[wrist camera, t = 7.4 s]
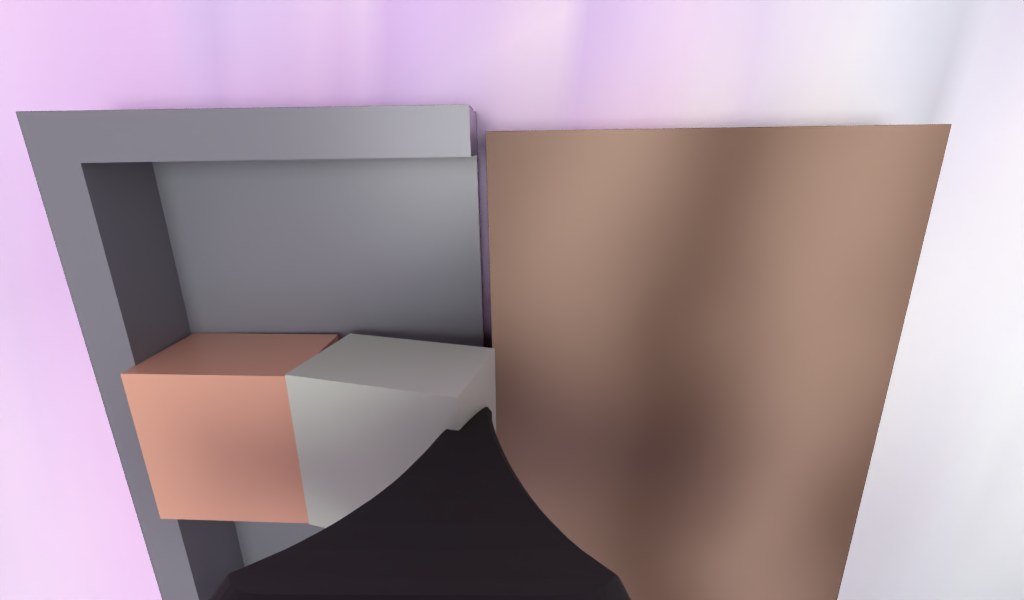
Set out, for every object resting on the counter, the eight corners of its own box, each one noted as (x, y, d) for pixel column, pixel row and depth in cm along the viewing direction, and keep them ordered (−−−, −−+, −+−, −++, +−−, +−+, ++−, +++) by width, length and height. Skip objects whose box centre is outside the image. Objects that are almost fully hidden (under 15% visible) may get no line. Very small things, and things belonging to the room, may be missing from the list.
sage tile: (494, 348, 12) (457, 397, 10) (497, 485, 13) (465, 558, 11) (350, 333, 13) (284, 374, 11) (364, 462, 14) (309, 524, 12)
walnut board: (882, 127, 12) (951, 123, 10) (794, 563, 17) (832, 618, 15) (489, 133, 12) (485, 131, 10) (501, 570, 16) (500, 625, 15)
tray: (475, 113, 12) (469, 104, 10) (492, 582, 17) (490, 655, 14) (112, 118, 12) (15, 111, 10) (228, 588, 17) (181, 662, 14)
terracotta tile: (338, 334, 13) (294, 376, 11) (353, 460, 14) (317, 523, 12) (194, 332, 13) (120, 373, 11) (222, 457, 15) (160, 518, 12)
